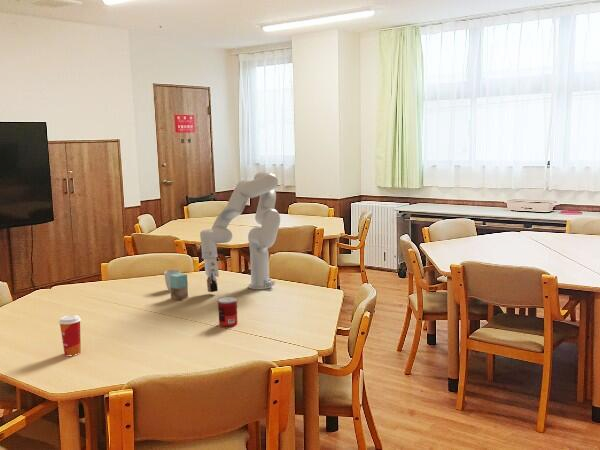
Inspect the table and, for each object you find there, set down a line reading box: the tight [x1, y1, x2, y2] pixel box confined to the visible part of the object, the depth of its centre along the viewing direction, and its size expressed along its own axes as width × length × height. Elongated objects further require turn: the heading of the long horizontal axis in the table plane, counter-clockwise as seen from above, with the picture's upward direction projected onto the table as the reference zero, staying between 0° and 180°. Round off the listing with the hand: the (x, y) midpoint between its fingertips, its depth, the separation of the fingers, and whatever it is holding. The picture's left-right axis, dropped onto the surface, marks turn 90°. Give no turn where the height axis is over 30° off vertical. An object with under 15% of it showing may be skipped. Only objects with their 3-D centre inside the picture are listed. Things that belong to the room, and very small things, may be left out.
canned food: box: [217, 296, 238, 328], centre depth 256 cm, size 8×8×11 cm
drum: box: [206, 277, 219, 293], centre depth 305 cm, size 5×5×6 cm
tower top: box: [170, 272, 189, 289], centre depth 298 cm, size 6×6×6 cm
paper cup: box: [58, 314, 82, 356], centre depth 225 cm, size 8×8×14 cm
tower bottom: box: [170, 287, 189, 302], centre depth 299 cm, size 6×6×6 cm
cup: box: [163, 269, 181, 292], centre depth 315 cm, size 8×8×10 cm
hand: (212, 289), depth 305 cm, fingers closed on drum, 5 cm apart
